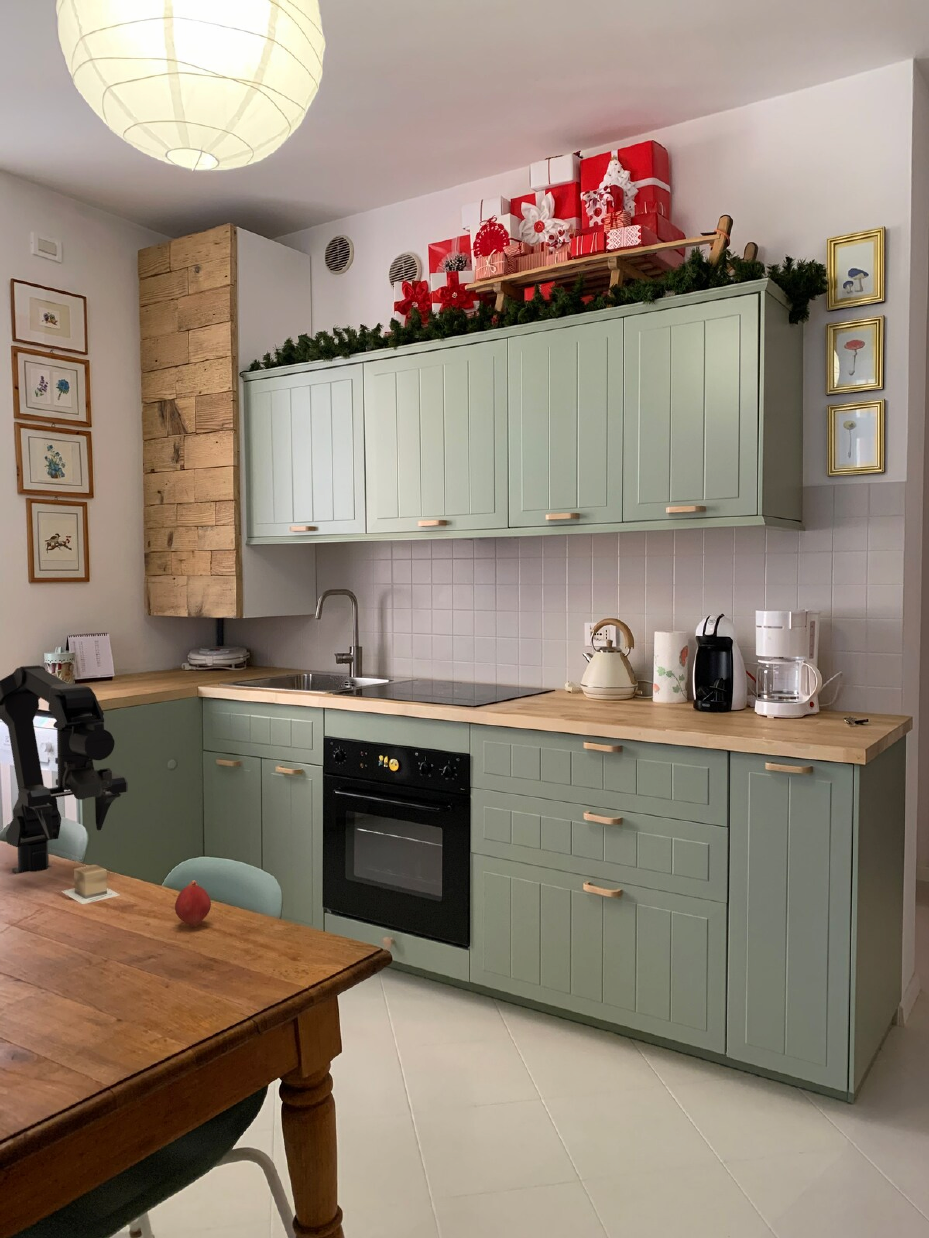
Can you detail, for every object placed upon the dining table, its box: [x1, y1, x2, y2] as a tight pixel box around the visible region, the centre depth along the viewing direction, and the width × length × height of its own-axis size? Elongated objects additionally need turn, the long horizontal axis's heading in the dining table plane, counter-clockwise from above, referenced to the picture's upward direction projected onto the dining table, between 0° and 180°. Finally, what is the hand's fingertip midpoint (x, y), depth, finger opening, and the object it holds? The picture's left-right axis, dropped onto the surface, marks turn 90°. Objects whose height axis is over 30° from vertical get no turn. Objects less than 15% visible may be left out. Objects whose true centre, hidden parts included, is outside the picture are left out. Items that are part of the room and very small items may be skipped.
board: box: [61, 887, 121, 905], centre depth 174 cm, size 10×7×1 cm
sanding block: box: [73, 864, 108, 899], centre depth 174 cm, size 5×4×4 cm
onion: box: [174, 880, 212, 928], centre depth 159 cm, size 6×6×8 cm
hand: (74, 834), depth 179 cm, fingers open, 9 cm apart
